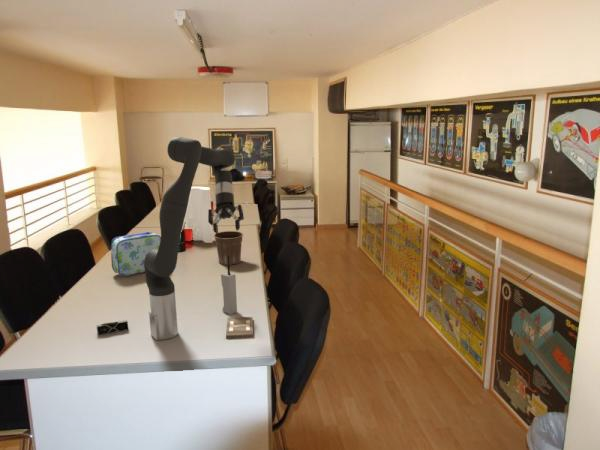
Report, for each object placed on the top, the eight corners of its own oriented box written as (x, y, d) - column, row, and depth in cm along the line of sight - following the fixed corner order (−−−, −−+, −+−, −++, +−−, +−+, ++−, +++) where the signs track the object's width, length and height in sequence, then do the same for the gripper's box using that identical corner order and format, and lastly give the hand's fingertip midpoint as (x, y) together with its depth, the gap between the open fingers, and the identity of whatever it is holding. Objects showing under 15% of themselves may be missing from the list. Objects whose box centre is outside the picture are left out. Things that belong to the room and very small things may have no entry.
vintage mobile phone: (229, 309, 211) (226, 253, 205) (237, 312, 208) (234, 255, 202) (222, 311, 208) (219, 255, 203) (230, 314, 205) (227, 257, 200)
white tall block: (211, 243, 319) (180, 242, 322) (217, 238, 330) (187, 237, 333) (208, 189, 311) (177, 189, 314) (214, 187, 322) (184, 186, 325)
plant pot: (242, 266, 270) (241, 238, 266) (212, 266, 270) (211, 238, 266) (245, 257, 285) (244, 230, 282) (218, 258, 286) (216, 231, 282)
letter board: (252, 336, 185) (252, 333, 184) (226, 338, 184) (225, 335, 183) (252, 319, 200) (252, 316, 200) (227, 320, 199) (227, 318, 199)
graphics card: (96, 336, 188) (95, 326, 186) (96, 332, 190) (94, 322, 188) (128, 330, 192) (127, 320, 190) (127, 326, 194) (126, 316, 192)
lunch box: (157, 264, 276) (154, 227, 271) (166, 268, 268) (163, 231, 263) (111, 274, 259) (107, 235, 254) (119, 279, 251) (115, 239, 246)
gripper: (243, 196, 207) (246, 232, 202) (210, 201, 208) (212, 237, 203) (239, 188, 200) (241, 225, 195) (205, 194, 201) (206, 231, 196)
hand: (226, 231), depth 199 cm, fingers open, 8 cm apart
